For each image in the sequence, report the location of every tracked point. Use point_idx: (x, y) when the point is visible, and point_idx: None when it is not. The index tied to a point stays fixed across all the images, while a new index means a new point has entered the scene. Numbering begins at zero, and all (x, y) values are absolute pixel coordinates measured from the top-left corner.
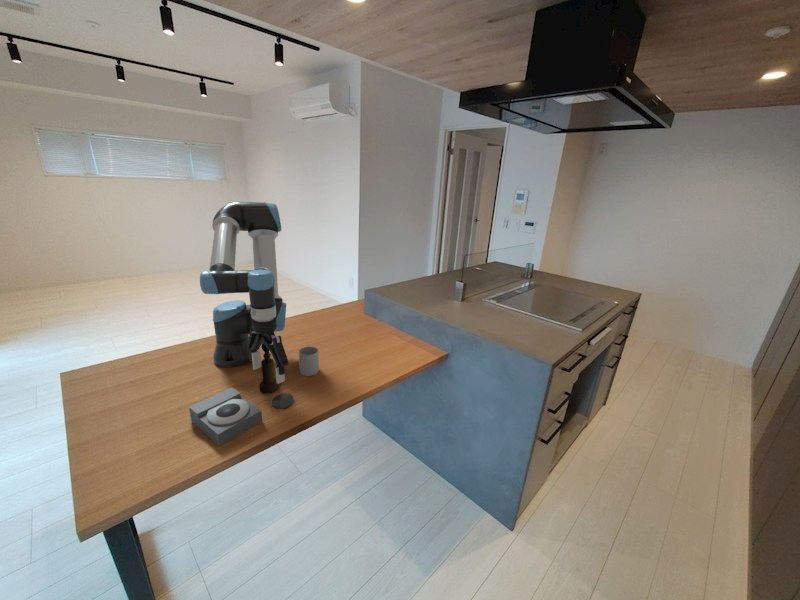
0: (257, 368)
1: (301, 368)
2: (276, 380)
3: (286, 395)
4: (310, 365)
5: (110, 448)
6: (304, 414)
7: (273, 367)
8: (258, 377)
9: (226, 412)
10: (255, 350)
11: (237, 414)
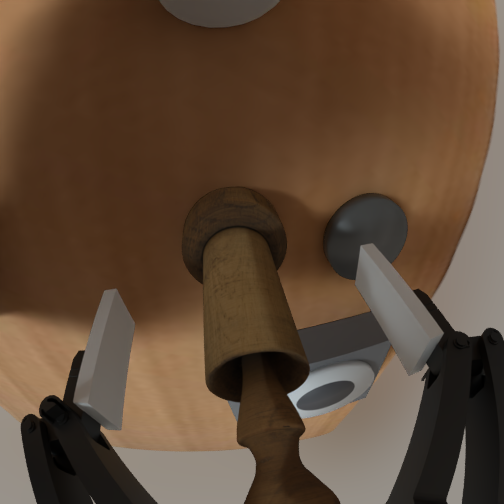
0: (126, 309)
1: (224, 17)
2: (362, 295)
3: (363, 217)
4: None
5: (225, 441)
6: (450, 213)
7: (286, 310)
8: (96, 236)
9: (331, 398)
10: (87, 423)
11: (359, 383)
